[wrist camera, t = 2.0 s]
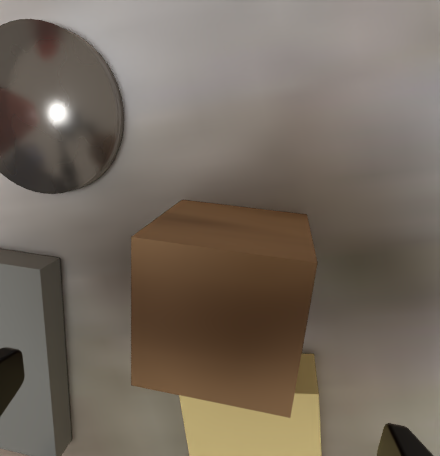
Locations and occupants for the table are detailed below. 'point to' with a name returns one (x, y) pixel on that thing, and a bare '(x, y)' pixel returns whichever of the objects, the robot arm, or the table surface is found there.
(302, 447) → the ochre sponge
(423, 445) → the robot arm
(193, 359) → the walnut cube
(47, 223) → the table surface
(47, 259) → the grey metal square plate
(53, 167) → the jar lid
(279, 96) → the table surface
